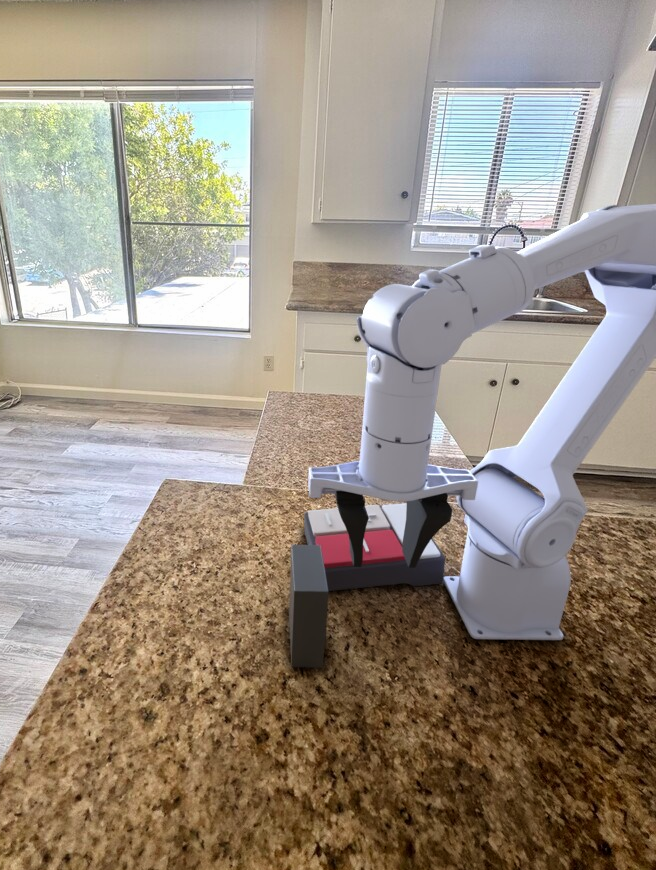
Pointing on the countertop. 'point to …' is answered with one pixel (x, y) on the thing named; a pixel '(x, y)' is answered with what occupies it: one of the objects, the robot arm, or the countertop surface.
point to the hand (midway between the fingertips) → (382, 559)
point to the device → (307, 606)
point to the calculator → (371, 550)
